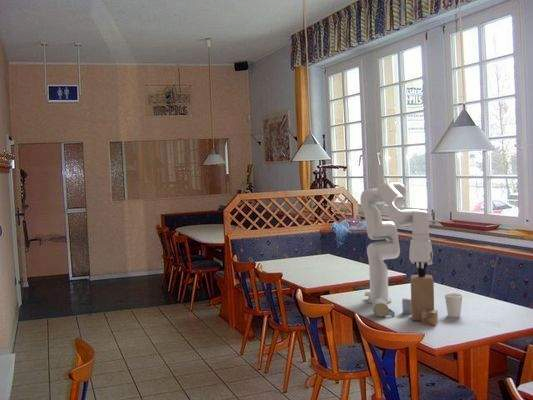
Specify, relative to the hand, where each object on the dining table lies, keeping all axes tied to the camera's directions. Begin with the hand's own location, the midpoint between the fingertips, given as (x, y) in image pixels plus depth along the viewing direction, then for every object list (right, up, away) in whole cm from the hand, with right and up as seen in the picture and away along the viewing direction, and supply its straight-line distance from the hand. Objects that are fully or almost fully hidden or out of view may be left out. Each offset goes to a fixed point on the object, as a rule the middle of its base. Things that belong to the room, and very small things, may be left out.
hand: (421, 276), depth 280 cm
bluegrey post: (-4, -20, +13) cm, 23 cm away
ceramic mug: (-16, -20, +10) cm, 28 cm away
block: (+1, -20, +1) cm, 20 cm away
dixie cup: (+16, -19, +4) cm, 26 cm away
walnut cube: (+2, -21, -8) cm, 22 cm away
